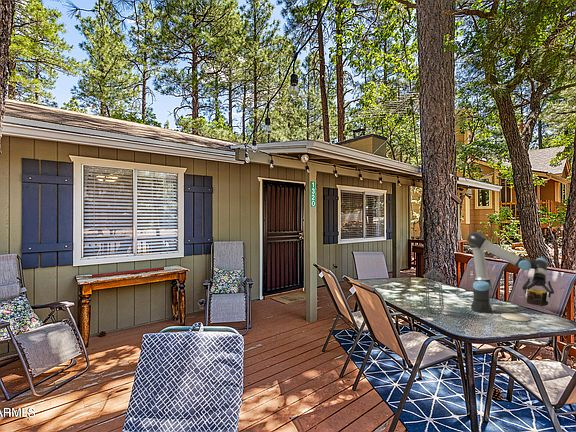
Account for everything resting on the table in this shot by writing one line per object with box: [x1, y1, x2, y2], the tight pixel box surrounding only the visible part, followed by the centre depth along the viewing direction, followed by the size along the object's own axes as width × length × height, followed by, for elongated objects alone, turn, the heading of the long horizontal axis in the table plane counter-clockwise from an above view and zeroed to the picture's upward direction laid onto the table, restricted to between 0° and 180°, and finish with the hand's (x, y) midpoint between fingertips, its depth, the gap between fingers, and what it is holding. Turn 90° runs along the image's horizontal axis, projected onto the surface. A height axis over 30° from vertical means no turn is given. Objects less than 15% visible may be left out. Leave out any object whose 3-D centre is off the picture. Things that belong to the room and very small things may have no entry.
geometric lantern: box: [423, 268, 445, 315], centre depth 267 cm, size 16×16×35 cm
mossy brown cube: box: [526, 288, 549, 307], centre depth 244 cm, size 10×10×10 cm
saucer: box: [500, 312, 531, 322], centre depth 250 cm, size 18×18×1 cm
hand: (536, 298), depth 242 cm, fingers closed on mossy brown cube, 12 cm apart
